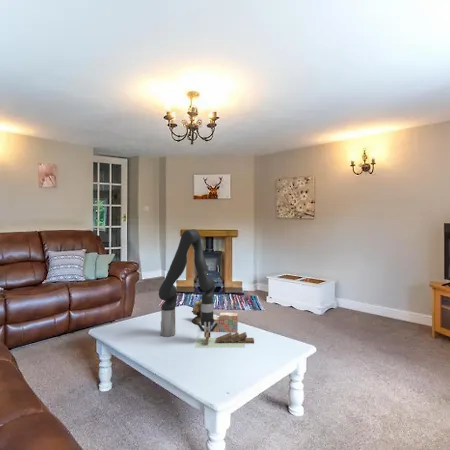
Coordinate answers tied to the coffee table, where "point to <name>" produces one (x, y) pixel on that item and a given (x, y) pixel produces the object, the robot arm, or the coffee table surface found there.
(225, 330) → the stack of blocks
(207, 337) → the domino
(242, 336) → the domino
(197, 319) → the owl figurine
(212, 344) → the mat
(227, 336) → the domino
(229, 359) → the coffee table surface
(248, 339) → the domino
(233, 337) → the domino
